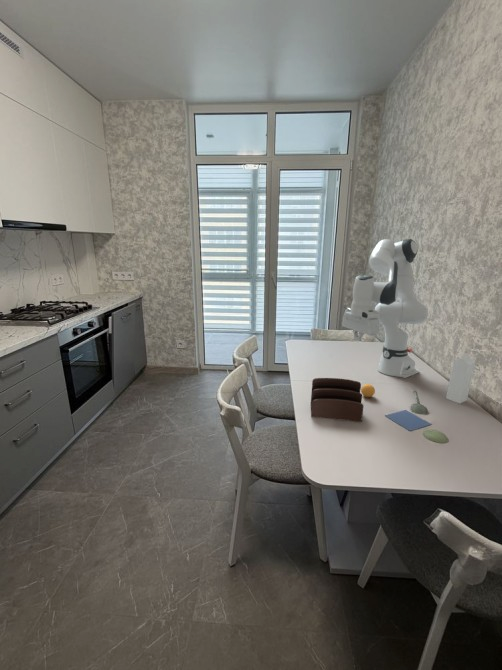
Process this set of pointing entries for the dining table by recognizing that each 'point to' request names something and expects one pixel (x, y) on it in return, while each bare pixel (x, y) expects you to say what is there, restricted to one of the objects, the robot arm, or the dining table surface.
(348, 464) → the dining table surface
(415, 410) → the soupspoon
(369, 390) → the ball
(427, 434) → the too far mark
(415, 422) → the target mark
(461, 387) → the milk
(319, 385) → the letter holder
